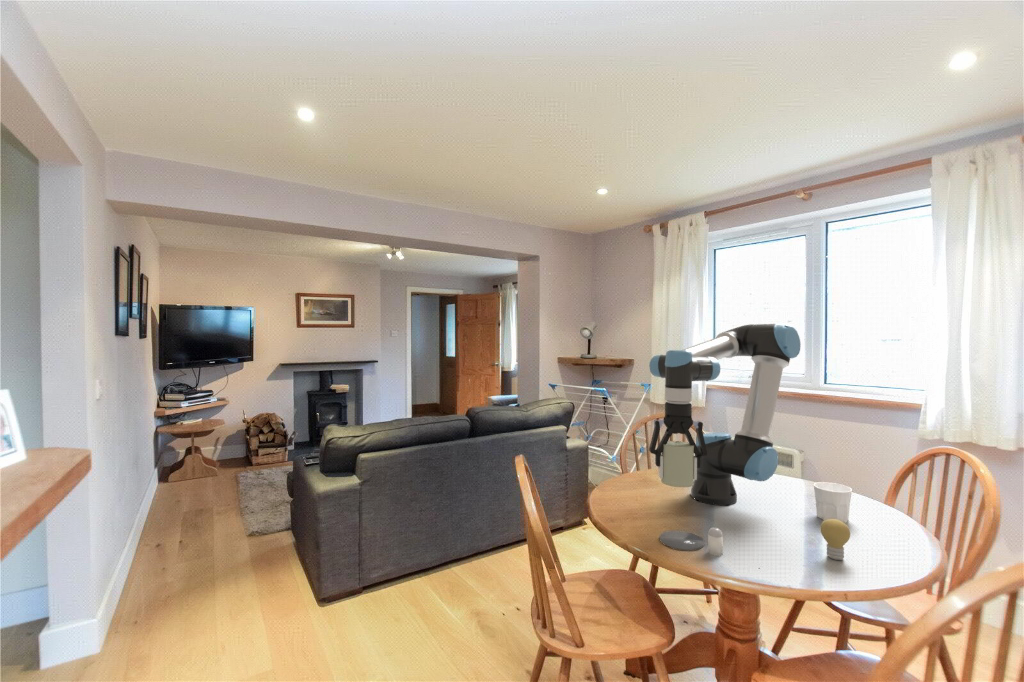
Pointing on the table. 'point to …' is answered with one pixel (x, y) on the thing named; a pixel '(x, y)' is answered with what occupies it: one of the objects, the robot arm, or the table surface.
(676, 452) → the can
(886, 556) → the table surface
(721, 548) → the salt shaker
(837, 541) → the light bulb
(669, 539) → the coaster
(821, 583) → the table surface
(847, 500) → the cup
